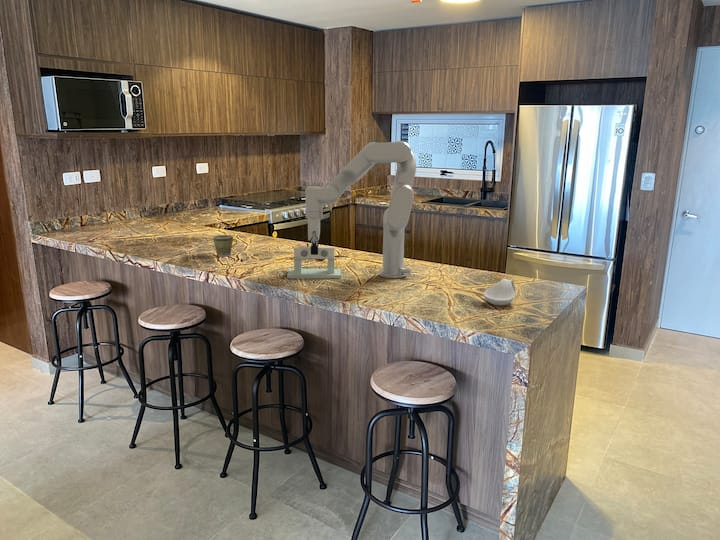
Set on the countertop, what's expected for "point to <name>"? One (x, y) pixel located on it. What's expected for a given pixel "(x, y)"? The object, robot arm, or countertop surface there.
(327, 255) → the cream rectangular beam
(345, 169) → the robot arm
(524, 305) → the countertop surface
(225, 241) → the ceramic cup
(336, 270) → the display stand
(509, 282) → the spoon rest
